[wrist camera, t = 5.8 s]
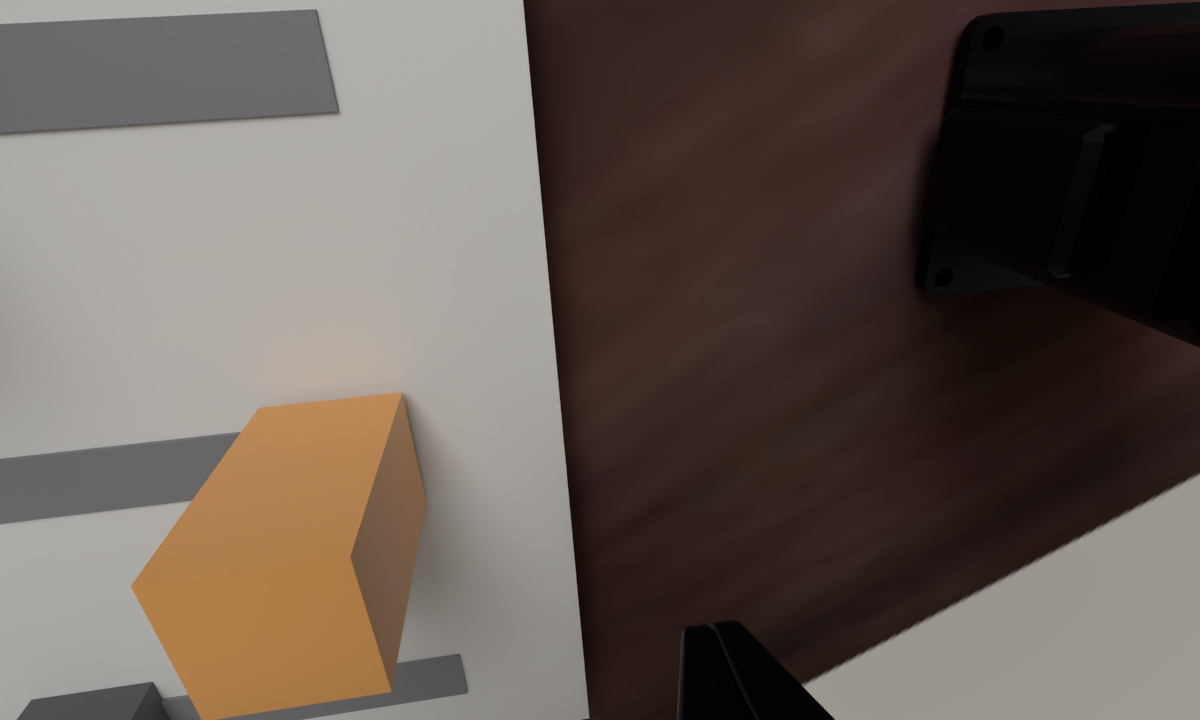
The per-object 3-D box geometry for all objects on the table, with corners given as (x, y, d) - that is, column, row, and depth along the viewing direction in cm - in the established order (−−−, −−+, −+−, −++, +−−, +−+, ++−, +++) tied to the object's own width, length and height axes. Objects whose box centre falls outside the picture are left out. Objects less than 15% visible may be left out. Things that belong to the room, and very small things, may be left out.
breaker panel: (507, -126, 12) (510, -345, 5) (582, 663, 21) (613, 912, 15) (-626, -95, 10) (-2613, -370, 4) (21, 751, 20) (-208, 1075, 13)
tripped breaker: (402, 392, 13) (349, 556, 9) (426, 501, 15) (391, 691, 10) (258, 407, 13) (130, 586, 9) (296, 517, 14) (202, 721, 10)
